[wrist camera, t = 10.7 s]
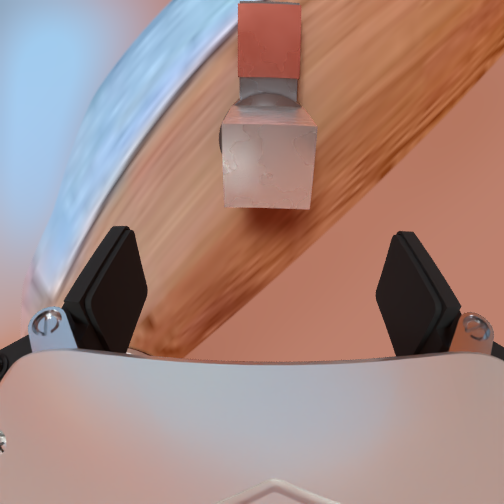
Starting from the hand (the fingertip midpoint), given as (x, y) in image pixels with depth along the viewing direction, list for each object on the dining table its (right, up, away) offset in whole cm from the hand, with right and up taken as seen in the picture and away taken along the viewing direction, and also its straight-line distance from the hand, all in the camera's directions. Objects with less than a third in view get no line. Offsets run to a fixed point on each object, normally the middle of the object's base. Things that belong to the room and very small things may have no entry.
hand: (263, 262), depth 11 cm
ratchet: (+1, +13, +11) cm, 17 cm away
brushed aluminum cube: (+1, +9, +11) cm, 14 cm away
